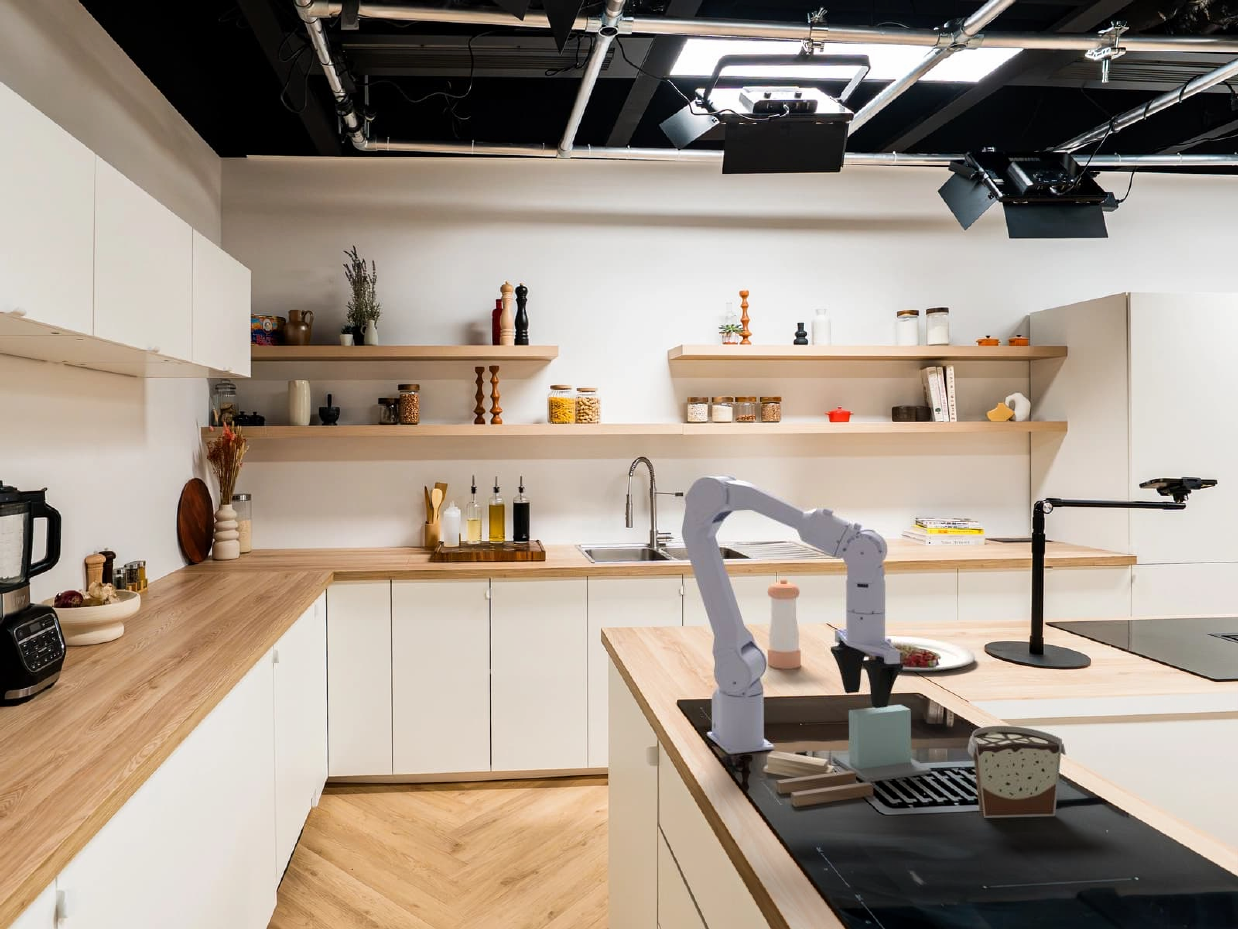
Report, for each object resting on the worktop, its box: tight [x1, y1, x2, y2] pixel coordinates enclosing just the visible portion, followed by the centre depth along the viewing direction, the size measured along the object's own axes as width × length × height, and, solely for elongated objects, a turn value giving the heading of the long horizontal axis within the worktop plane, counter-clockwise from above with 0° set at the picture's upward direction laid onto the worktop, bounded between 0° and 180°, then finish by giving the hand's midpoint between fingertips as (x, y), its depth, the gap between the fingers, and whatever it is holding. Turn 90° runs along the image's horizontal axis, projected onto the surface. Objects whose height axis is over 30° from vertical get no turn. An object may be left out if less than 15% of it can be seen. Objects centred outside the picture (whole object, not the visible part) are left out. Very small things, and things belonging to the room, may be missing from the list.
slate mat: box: [832, 753, 932, 783], centre depth 122 cm, size 9×11×1 cm
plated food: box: [836, 635, 976, 672], centre depth 187 cm, size 30×30×3 cm
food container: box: [967, 725, 1067, 819], centre depth 108 cm, size 12×6×10 cm, turn 92°
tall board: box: [848, 704, 912, 769], centre depth 122 cm, size 2×9×8 cm, turn 106°
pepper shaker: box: [767, 578, 802, 670], centre depth 182 cm, size 7×7×19 cm
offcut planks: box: [763, 750, 836, 778], centre depth 120 cm, size 3×10×3 cm, turn 62°
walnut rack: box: [776, 770, 874, 807], centre depth 113 cm, size 5×12×2 cm, turn 106°
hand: (865, 699), depth 123 cm, fingers open, 7 cm apart
